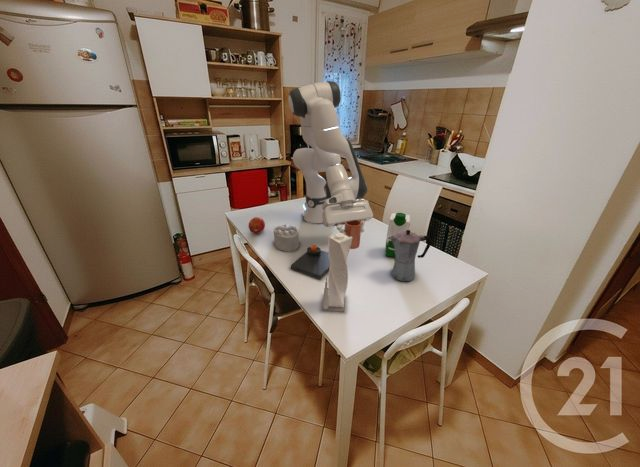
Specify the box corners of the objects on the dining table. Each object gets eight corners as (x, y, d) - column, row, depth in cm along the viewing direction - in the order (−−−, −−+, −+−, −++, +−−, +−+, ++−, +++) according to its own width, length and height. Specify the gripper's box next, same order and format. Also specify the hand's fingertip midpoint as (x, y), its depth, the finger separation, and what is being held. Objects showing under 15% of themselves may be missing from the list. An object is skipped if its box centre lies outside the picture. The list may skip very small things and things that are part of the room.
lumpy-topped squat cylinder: (291, 236, 132) (290, 220, 128) (303, 247, 122) (303, 231, 118) (272, 241, 127) (270, 225, 123) (283, 254, 118) (281, 237, 114)
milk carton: (383, 256, 116) (389, 215, 107) (385, 246, 124) (391, 207, 115) (403, 260, 114) (411, 218, 104) (405, 250, 121) (412, 210, 112)
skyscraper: (325, 293, 94) (326, 223, 81) (347, 295, 94) (352, 224, 81) (322, 310, 87) (324, 236, 74) (347, 312, 86) (353, 237, 73)
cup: (347, 239, 108) (349, 217, 103) (361, 243, 105) (364, 221, 100) (341, 246, 103) (342, 223, 98) (355, 250, 100) (357, 227, 96)
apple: (267, 229, 139) (265, 215, 136) (262, 236, 132) (261, 222, 128) (252, 228, 140) (250, 214, 136) (247, 235, 133) (245, 221, 129)
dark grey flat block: (311, 251, 120) (311, 244, 118) (339, 260, 114) (339, 253, 112) (290, 268, 108) (290, 261, 106) (320, 279, 101) (320, 272, 100)
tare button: (312, 247, 117) (312, 244, 116) (318, 249, 115) (318, 246, 114) (309, 250, 114) (309, 247, 114) (314, 252, 113) (314, 249, 112)
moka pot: (382, 267, 109) (388, 224, 100) (419, 268, 109) (429, 225, 99) (386, 281, 101) (393, 236, 91) (427, 282, 100) (438, 237, 91)
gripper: (363, 201, 110) (373, 232, 107) (318, 207, 104) (326, 240, 101) (370, 194, 105) (380, 227, 101) (322, 200, 98) (331, 235, 95)
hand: (353, 233), depth 101 cm, fingers closed on cup, 6 cm apart
